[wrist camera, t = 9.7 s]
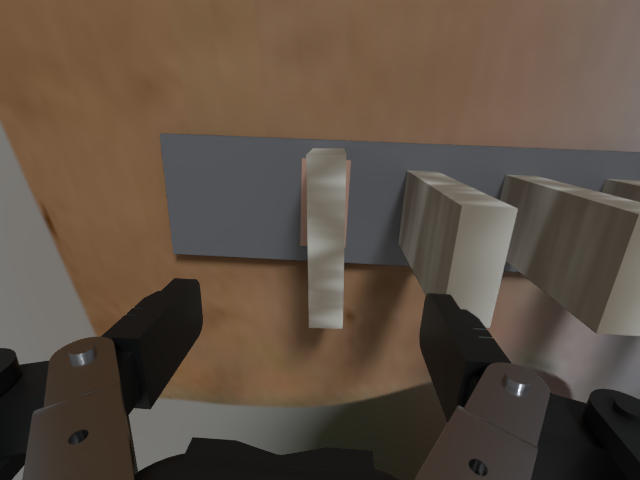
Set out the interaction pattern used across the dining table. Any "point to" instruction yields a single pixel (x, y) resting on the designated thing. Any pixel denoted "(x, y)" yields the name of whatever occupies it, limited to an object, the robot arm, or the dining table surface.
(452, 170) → the domino board
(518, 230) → the ivory domino
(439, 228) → the ivory domino
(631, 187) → the ivory domino
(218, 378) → the dining table surface
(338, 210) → the domino
